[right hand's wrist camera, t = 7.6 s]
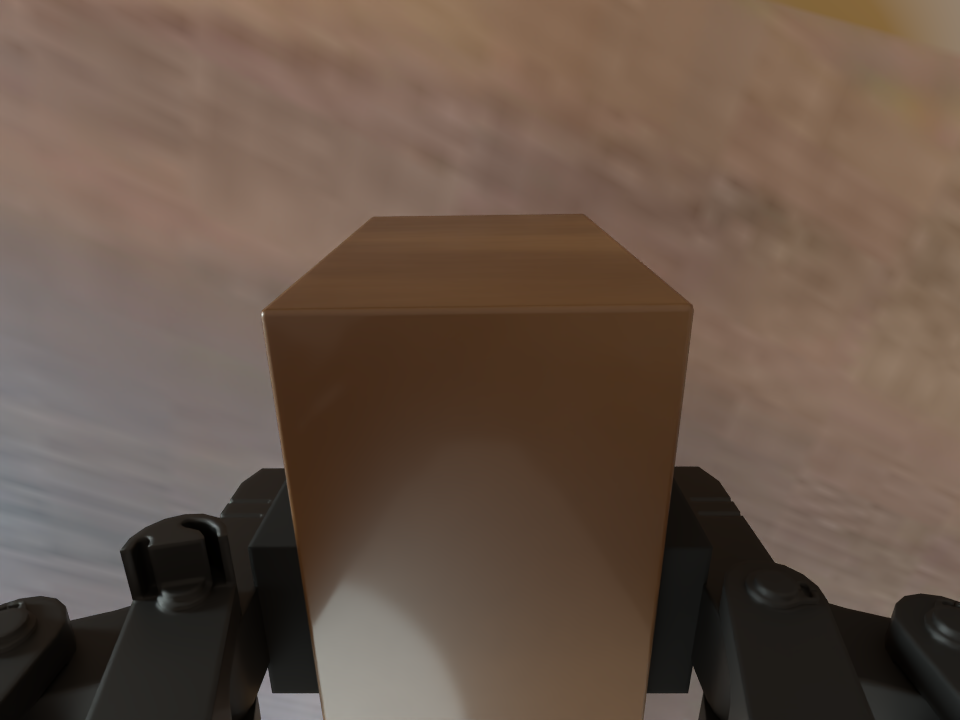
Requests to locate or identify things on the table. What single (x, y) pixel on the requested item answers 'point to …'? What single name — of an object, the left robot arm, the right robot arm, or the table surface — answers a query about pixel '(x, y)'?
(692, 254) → the table surface
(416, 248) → the bar
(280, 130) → the table surface
